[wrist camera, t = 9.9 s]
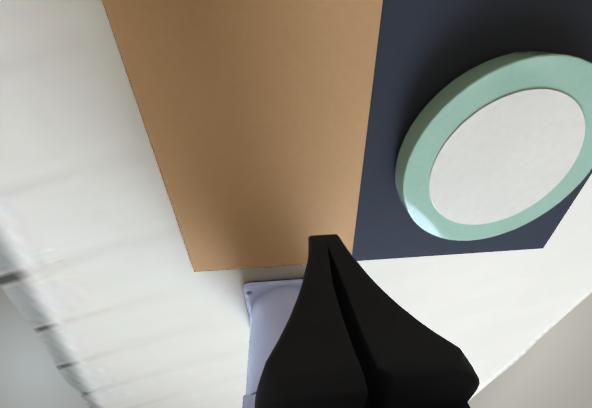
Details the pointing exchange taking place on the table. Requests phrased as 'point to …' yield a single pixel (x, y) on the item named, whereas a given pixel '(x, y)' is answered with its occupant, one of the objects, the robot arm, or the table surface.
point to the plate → (498, 146)
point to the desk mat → (315, 114)
